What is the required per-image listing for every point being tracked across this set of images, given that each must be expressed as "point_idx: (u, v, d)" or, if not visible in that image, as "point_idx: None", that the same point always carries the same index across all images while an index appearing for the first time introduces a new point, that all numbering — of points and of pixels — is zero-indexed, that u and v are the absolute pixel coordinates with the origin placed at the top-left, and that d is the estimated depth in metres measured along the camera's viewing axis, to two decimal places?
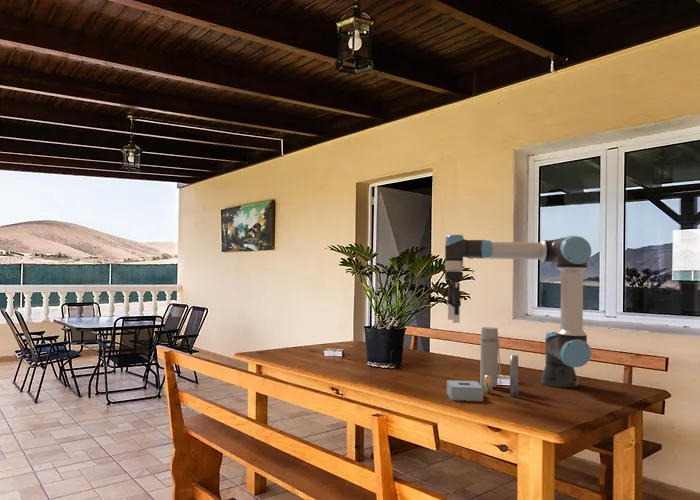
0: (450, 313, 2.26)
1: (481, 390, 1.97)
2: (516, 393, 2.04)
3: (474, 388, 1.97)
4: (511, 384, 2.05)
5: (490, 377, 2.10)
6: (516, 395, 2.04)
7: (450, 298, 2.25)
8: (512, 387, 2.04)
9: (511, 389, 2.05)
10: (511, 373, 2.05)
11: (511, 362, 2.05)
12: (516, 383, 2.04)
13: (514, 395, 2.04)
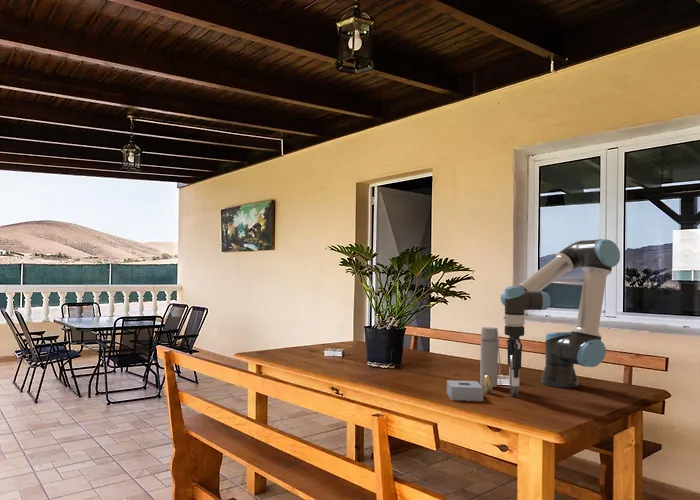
0: None
1: (481, 390, 1.97)
2: (516, 393, 2.04)
3: (474, 388, 1.97)
4: (511, 384, 2.05)
5: (490, 377, 2.10)
6: (516, 395, 2.04)
7: None
8: (512, 387, 2.04)
9: (511, 389, 2.05)
10: (511, 373, 2.05)
11: (511, 362, 2.05)
12: None
13: (514, 395, 2.04)
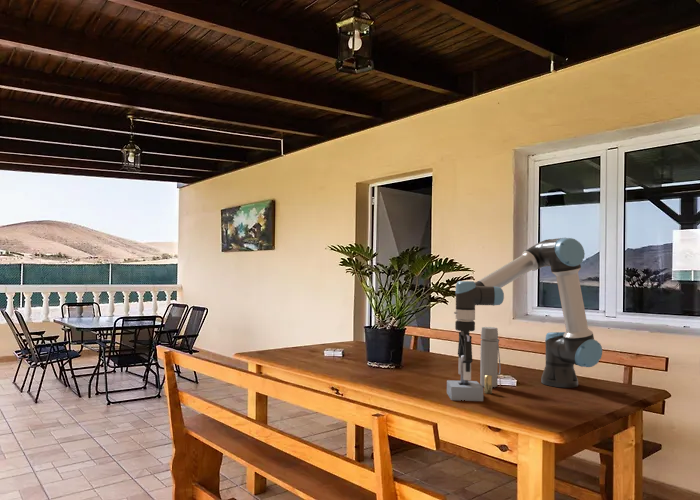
0: None
1: (481, 390, 1.97)
2: None
3: (474, 388, 1.97)
4: (461, 384, 2.03)
5: (490, 377, 2.10)
6: None
7: (461, 350, 2.08)
8: None
9: None
10: (461, 373, 2.03)
11: (461, 362, 2.03)
12: (466, 383, 2.02)
13: None
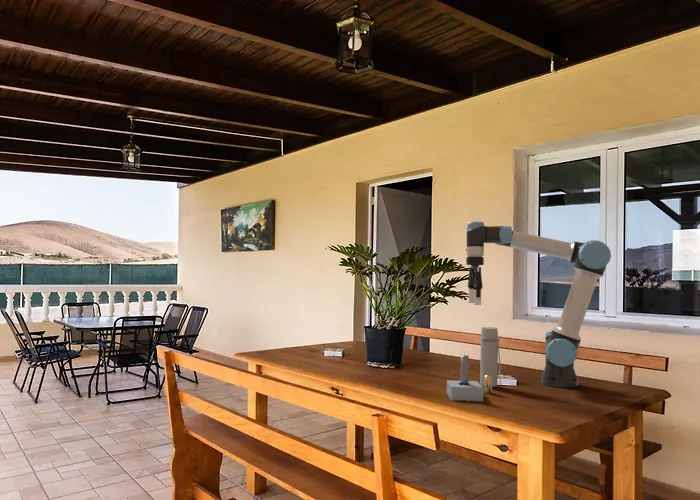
0: (471, 297, 2.38)
1: (481, 390, 1.97)
2: None
3: (474, 388, 1.97)
4: (461, 384, 2.03)
5: (490, 377, 2.10)
6: None
7: (471, 282, 2.37)
8: None
9: None
10: (461, 373, 2.03)
11: (461, 362, 2.03)
12: (466, 383, 2.02)
13: None
